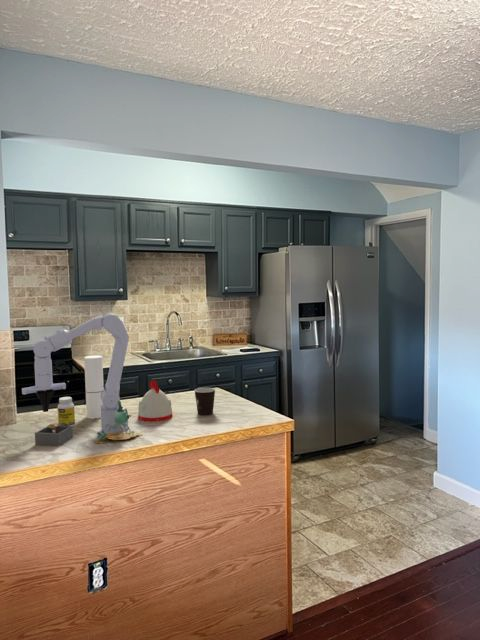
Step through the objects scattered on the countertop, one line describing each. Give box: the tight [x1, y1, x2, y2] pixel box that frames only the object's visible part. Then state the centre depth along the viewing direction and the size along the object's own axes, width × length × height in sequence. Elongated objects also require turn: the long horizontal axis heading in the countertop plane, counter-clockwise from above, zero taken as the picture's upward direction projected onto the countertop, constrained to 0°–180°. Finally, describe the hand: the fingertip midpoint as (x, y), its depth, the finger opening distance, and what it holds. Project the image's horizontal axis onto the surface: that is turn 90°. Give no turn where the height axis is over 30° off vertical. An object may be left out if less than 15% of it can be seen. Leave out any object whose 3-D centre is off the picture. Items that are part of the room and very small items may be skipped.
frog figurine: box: [94, 400, 144, 445], centre depth 175 cm, size 10×18×15 cm, turn 115°
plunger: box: [47, 422, 59, 433], centre depth 172 cm, size 7×7×5 cm
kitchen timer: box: [137, 380, 173, 423], centre depth 201 cm, size 14×14×15 cm
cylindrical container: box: [83, 355, 105, 420], centre depth 202 cm, size 7×7×25 cm
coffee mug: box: [194, 387, 216, 417], centre depth 206 cm, size 12×9×10 cm
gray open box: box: [34, 425, 74, 447], centre depth 173 cm, size 9×10×4 cm
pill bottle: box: [57, 396, 76, 427], centre depth 190 cm, size 6×6×11 cm
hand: (45, 411), depth 175 cm, fingers closed
